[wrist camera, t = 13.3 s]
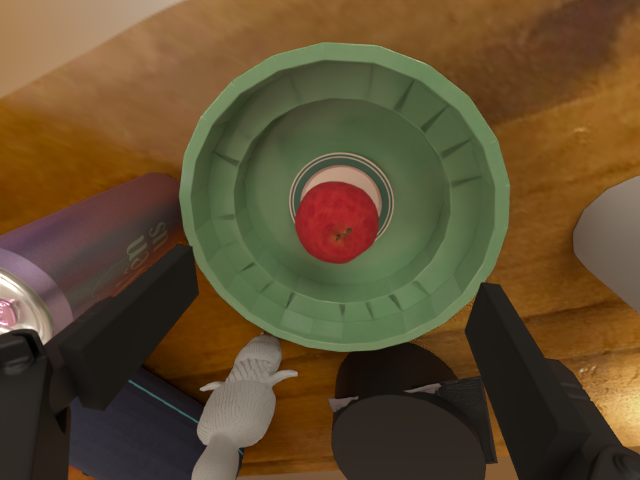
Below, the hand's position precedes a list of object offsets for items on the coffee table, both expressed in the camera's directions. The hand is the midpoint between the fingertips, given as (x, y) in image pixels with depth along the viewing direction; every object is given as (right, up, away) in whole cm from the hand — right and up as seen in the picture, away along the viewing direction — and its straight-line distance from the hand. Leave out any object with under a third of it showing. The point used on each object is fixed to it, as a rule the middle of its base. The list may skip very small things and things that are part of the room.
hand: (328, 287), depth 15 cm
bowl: (+1, +5, +11) cm, 13 cm away
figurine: (-5, -7, +19) cm, 21 cm away
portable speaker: (-20, -15, +25) cm, 35 cm away
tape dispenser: (+9, -15, +20) cm, 27 cm away
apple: (+1, +5, +11) cm, 12 cm away
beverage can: (-14, +5, +14) cm, 20 cm away
